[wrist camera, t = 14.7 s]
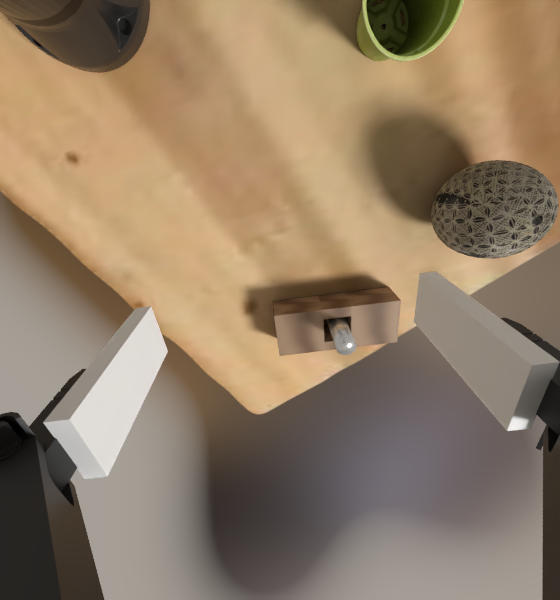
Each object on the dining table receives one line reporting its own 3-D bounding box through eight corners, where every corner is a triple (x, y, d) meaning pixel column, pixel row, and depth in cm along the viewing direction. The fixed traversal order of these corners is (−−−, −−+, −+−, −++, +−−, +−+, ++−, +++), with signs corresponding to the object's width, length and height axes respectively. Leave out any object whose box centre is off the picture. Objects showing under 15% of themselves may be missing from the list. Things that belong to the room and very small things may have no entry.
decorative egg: (401, 230, 45) (458, 264, 32) (438, 148, 40) (525, 148, 27) (466, 247, 47) (545, 286, 34) (510, 171, 42) (624, 182, 28)
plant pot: (355, 93, 37) (379, 79, 29) (329, 0, 32) (349, -45, 25) (428, 54, 35) (473, 29, 27) (411, -48, 31) (459, -112, 23)
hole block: (278, 338, 54) (279, 355, 49) (273, 300, 50) (273, 315, 46) (386, 325, 53) (397, 341, 49) (388, 286, 50) (400, 300, 45)
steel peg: (324, 320, 52) (336, 356, 43) (324, 306, 51) (336, 339, 42) (341, 318, 52) (356, 353, 43) (341, 304, 51) (356, 337, 42)
